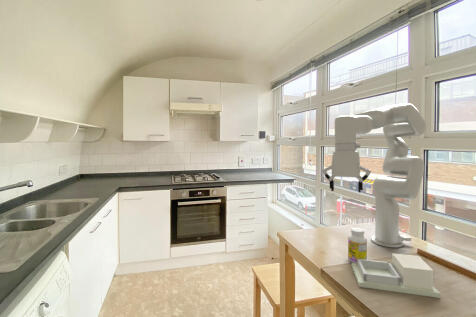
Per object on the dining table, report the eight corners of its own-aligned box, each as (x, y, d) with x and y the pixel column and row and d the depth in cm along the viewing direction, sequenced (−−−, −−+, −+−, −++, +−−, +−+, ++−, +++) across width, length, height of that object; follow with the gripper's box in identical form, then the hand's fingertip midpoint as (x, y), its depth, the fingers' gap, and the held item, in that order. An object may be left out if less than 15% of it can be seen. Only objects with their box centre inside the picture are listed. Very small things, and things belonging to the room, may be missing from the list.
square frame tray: (419, 274, 82) (419, 254, 82) (439, 297, 70) (440, 273, 70) (351, 266, 89) (351, 247, 88) (358, 286, 76) (359, 264, 76)
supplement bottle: (344, 257, 96) (345, 227, 96) (360, 256, 97) (360, 226, 96) (354, 265, 90) (354, 233, 89) (370, 264, 90) (370, 232, 89)
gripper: (370, 146, 90) (370, 190, 91) (323, 148, 98) (323, 188, 99) (371, 147, 83) (371, 194, 84) (320, 148, 91) (321, 191, 92)
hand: (345, 191), depth 92 cm, fingers open, 9 cm apart
